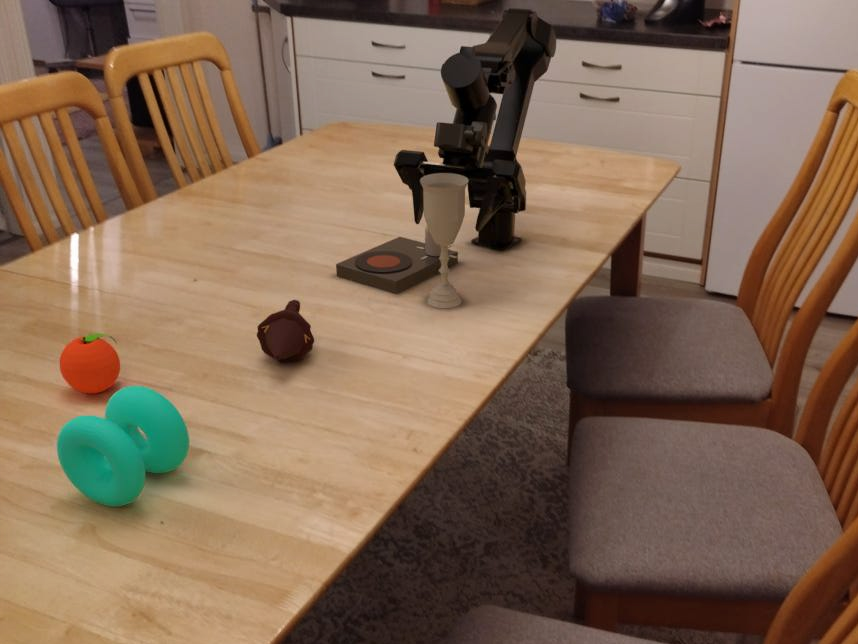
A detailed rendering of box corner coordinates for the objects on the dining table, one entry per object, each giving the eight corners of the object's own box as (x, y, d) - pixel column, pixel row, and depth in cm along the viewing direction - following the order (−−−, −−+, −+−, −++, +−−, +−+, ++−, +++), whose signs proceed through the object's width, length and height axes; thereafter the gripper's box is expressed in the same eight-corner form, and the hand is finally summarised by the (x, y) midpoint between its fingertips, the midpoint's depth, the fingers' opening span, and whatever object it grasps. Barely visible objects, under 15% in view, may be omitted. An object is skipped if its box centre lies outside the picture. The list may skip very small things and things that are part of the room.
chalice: (461, 313, 145) (462, 189, 136) (416, 308, 147) (413, 186, 137) (471, 294, 152) (473, 175, 142) (428, 290, 153) (426, 171, 143)
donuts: (61, 498, 104) (40, 414, 98) (127, 453, 111) (110, 372, 106) (139, 522, 100) (121, 436, 95) (200, 474, 108) (187, 392, 103)
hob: (405, 245, 169) (404, 233, 168) (470, 263, 163) (470, 250, 161) (336, 276, 157) (335, 262, 156) (403, 296, 150) (403, 282, 149)
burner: (379, 248, 162) (379, 247, 162) (423, 260, 158) (423, 259, 157) (342, 264, 156) (342, 263, 155) (387, 277, 151) (387, 276, 151)
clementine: (104, 369, 128) (93, 318, 124) (143, 382, 125) (133, 330, 122) (53, 394, 123) (40, 341, 119) (93, 408, 120) (81, 354, 116)
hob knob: (434, 246, 163) (434, 221, 160) (452, 251, 161) (452, 225, 159) (420, 253, 160) (420, 227, 158) (438, 258, 158) (438, 231, 156)
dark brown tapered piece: (312, 338, 122) (325, 300, 136) (252, 323, 121) (270, 287, 134) (302, 389, 126) (315, 347, 139) (243, 375, 124) (261, 334, 138)
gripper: (396, 91, 141) (369, 190, 138) (524, 102, 137) (498, 205, 134) (416, 135, 152) (392, 229, 149) (535, 147, 147) (512, 244, 144)
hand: (446, 226), depth 144 cm, fingers open, 9 cm apart
